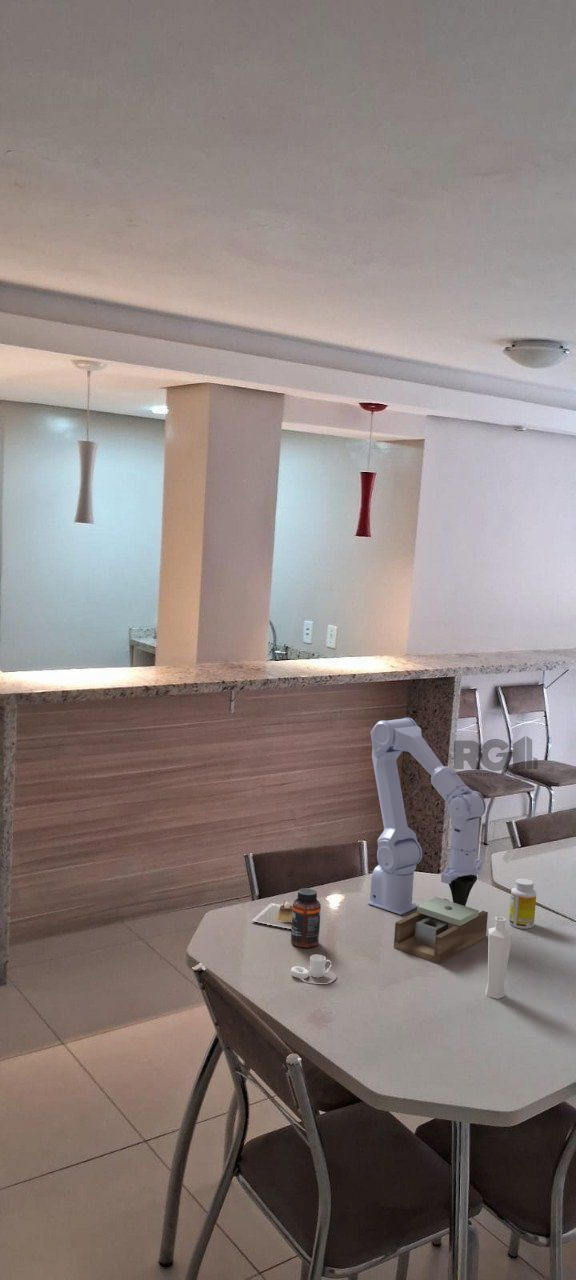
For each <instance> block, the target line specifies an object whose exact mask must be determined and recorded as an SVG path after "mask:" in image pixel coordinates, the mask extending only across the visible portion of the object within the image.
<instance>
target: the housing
mask: <svg viewBox="0 0 576 1280" xmlns="http://www.w3.org/2000/svg"><path fill="white" fill-rule="evenodd" d="M443 899H444V900H447V901H449V900H450V899H447V898H443ZM488 913H489V912H488V911H485V910H482V911H479V916H478V917H476V918H474V919H472V920H471V921H469V922H467V923H465V924H463V925H461V926H458V925H455V924H452V923H449V922H446V921H443V920H440V919H436V918H433V917H430V916H427V915H424V914H421V913H418V912H417V911H416V912H414V913H411V914H410V915H408V916H406V917H403V918H401V919H399V920H397V921H395V924H394V939H393V940H394V941H393V948H395V949H397V950H399V951H402V952H405V953H409V954H411V955H414V956H416V957H418V958H419V957H420V958H421V959H425V960H426V961H430V962H433V963H436V964H438V965H439V964H441V963H442V962H444V961H446V960H448V959H450V958H451V957H453V956H454V955H457V954H458V953H459V952H461V951H463V950H465V949H467V948H469V947H470V946H472V945H473V944H475V943H478V942H479V941H480V940H482V939H484V938H486V937H487V930H488V929H487V928H488V915H489V914H488ZM427 917H430V918H433V919H436V920H439V921H442V922H445V923H448V930H446V931H444V932H442V933H441V934H439V935H437V936H436V939H435V948H432V947H429V946H427V945H424V944H421V943H418V942H415V927H416V923H417V922H419V921H421V920H423V919H425V918H427ZM432 927H433V926H432Z"/></svg>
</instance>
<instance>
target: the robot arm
mask: <svg viewBox="0 0 576 1280" xmlns="http://www.w3.org/2000/svg"><path fill="white" fill-rule="evenodd" d="M370 737H371V739H370V740H371V745H372V750H371V760H372V765H373V770H374V776H375V783H376V788H377V789H376V790H377V795H378V799H379V801H378V802H379V806H380V811H381V817H382V824H383V832H381V834H380V836H379V837H378V839H377V840H376V842H377V851H376V852H377V853H376V859H377V860H376V861H377V863H378V864H377V865H376V866H375V868H374V869H373V871H372V873H371V874H372V875H371V877H370V893H369V896H370V897H369V901H367V904H368V905H370V906H372V907H376V908H379V909H382V910H385V911H388V912H392V913H395V914H397V915H401V916H402V915H405V914H407V913H408V912H410V911H413V910H414V909H417V906H419V905H420V904H419V903H416V902H414V901H413V893H414V891H413V890H414V879H415V878H414V875H415V870H416V869H417V865H418V864H420V863H421V862H422V859H423V858H422V857H423V850H422V847H421V846H422V845H421V844H420V842H419V841H418V838H417V834H416V832H415V831H414V830H412V829H411V828H410V827H409V826H408V822H407V816H406V810H405V803H404V798H403V791H402V786H401V781H400V780H401V779H400V775H399V770H398V763H397V759H398V758H399V756H400V755H401V754H402V752H408V753H409V754H410V755H411V756H412V757H413V758H414V759H415V760H416V761H417V762H418V763H419V764H420V765H421V766H422V767H423V768H424V770H425V771H427V773H428V774H429V775H430V784H431V785H432V786H433V788H434V789H435V790H436V791H437V793H438V794H439V795H440V797H441V798H442V799H443V801H445V803H446V804H447V812H448V814H449V817H450V825H451V833H450V834H451V837H450V838H451V839H450V849H449V861H448V863H449V864H448V865H447V867H446V868H445V870H444V871H443V872H442V873H441V875H440V882H441V883H444V884H446V885H448V886H449V890H450V893H451V898H452V899H451V900H452V902H454V903H457V904H460V905H463V906H466V905H467V903H468V899H469V896H470V894H471V890H472V888H473V887H474V886H475V883H476V882H477V880H478V877H477V875H480V874H481V870H482V866H483V865H482V864H483V860H481V859H478V858H477V852H478V851H477V850H478V841H479V828H480V818H481V817H482V816H483V815H484V814H485V812H486V808H487V806H486V801H485V798H484V797H483V795H482V793H480V792H479V791H475V790H473V789H471V788H470V787H469V786H467V784H465V782H464V781H463V779H461V778H460V776H459V775H458V772H457V770H456V769H455V768H452V767H451V766H446V765H445V766H444V764H442V762H441V761H440V759H439V758H438V756H436V754H435V752H434V751H433V750H432V748H431V747H430V746H429V745H428V743H427V742H426V740H425V738H424V737H423V736H422V728H421V727H420V726H418V724H417V722H416V721H415V720H414V719H413V718H411V717H402V718H397V719H391V720H390V719H389V720H379V721H378V722H376V724H375V725H374V726H373V728H372V729H371V730H370Z"/></svg>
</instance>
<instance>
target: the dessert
mask: <svg viewBox="0 0 576 1280" xmlns="http://www.w3.org/2000/svg"><path fill="white" fill-rule="evenodd" d="M283 901H284V902H283V903H282V904H278V903H274V902H270V903H269V904H268V905H267V906H266V907H265V908H264V909H263V910H262V911H261V912H259V913H258V914H257V915H256V916H255V917H254V918H252V919H251V920H250V921H251V922H252V923H255V922H258V921H256V920H257V919H258V918H259V917H260V916H261V915H263V914H264V913H265V912H266V911H267V910H268V909H269V908H271V907H272V906H277V907H279V909H278V912H277V914H276V917H277V919H278V920H281V921H286V922H291V921H292V909H293V905H291V904H290V903H289V901H288V900H287V901H286V902H285V900H283ZM259 923H262V924H261V925H264V924H267V925H266V926H269V925H272V926H271V927H274V926H278V927H277V928H279V927H282V928H281V929H284V928H287V929H286V930H289V929H291V928H292V927H287V926H283V925H278V924H272V923H268V922H263V921H260V922H258V923H257V924H259Z"/></svg>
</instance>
